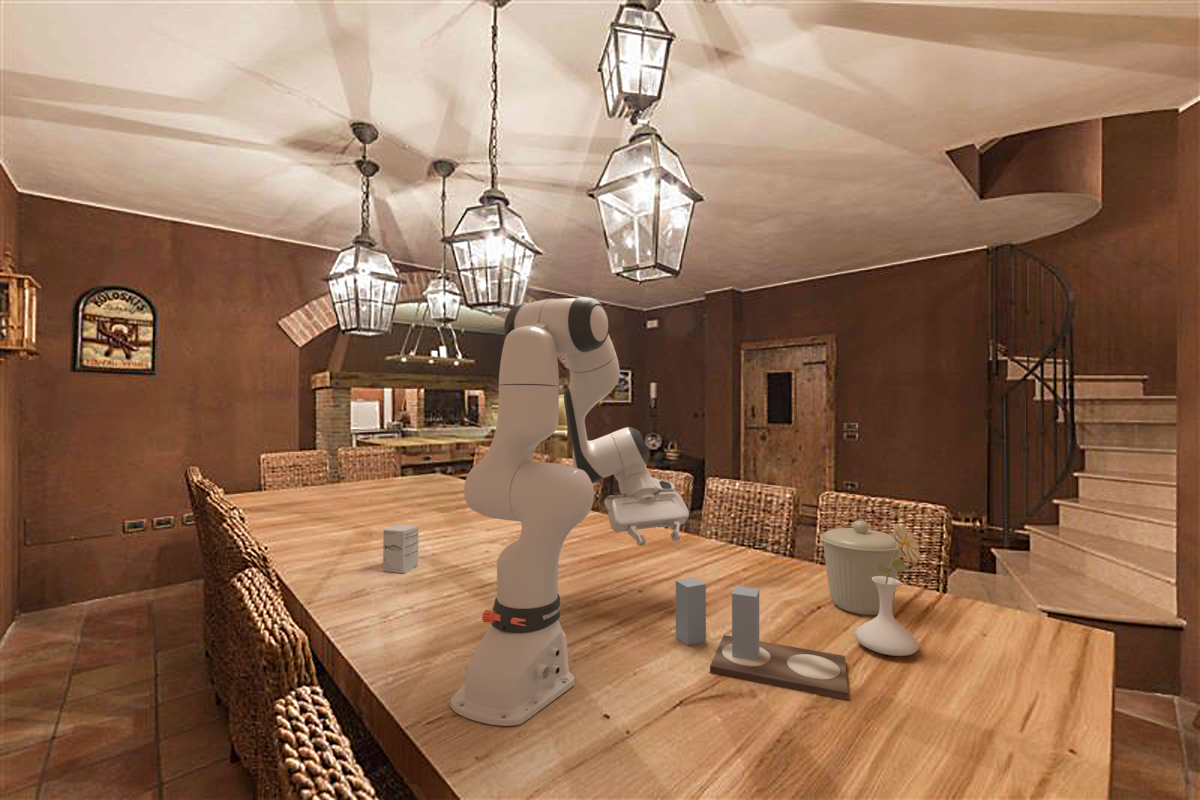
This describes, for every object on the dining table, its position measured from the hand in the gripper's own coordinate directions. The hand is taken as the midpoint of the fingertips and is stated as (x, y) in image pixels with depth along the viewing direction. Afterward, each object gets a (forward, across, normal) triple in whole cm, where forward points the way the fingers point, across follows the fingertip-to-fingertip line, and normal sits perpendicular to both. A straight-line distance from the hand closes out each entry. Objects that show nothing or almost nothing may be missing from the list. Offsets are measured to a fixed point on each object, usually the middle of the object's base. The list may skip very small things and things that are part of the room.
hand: (660, 541), depth 122 cm
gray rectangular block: (+21, 0, +4) cm, 21 cm away
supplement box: (-32, -53, +57) cm, 84 cm away
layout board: (+33, +8, -8) cm, 35 cm away
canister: (+23, +47, +2) cm, 53 cm away
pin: (+29, +4, -6) cm, 30 cm away
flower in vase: (+35, +34, -10) cm, 50 cm away
